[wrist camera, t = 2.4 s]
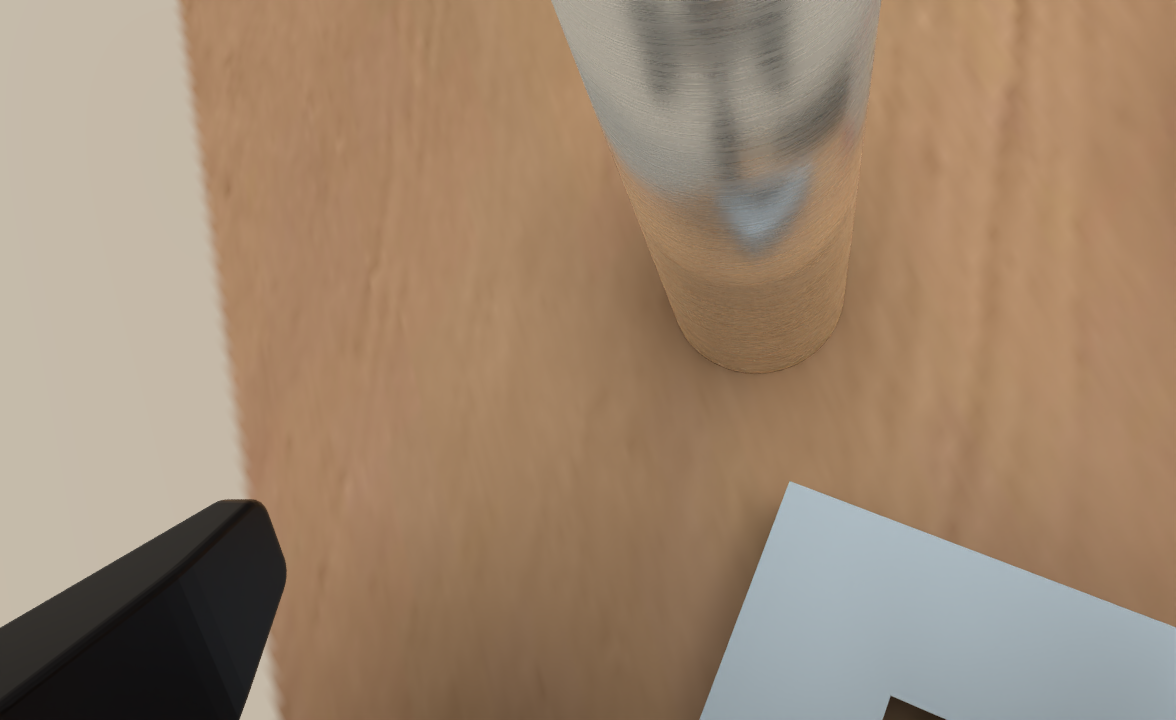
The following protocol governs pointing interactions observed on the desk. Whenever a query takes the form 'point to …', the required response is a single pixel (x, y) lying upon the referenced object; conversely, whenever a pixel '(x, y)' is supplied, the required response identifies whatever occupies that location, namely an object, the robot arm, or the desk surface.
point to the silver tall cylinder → (736, 156)
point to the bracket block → (926, 632)
